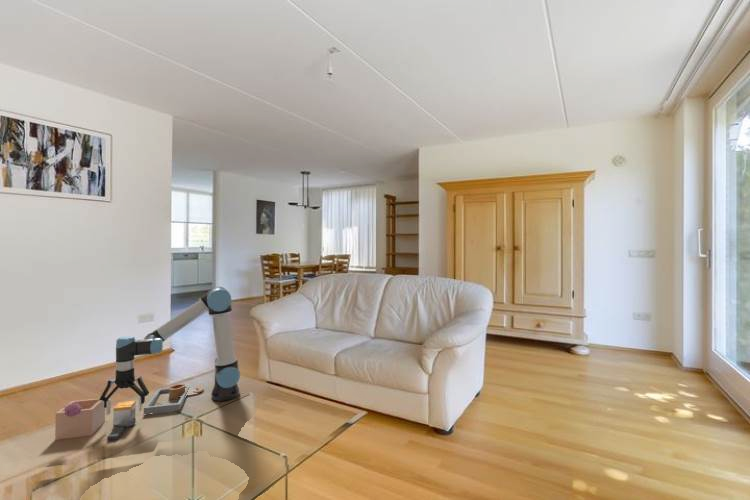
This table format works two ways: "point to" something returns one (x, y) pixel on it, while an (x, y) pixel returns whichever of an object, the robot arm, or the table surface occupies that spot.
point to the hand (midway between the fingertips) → (124, 412)
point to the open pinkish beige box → (80, 420)
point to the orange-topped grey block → (124, 412)
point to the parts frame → (164, 408)
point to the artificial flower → (72, 409)
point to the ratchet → (119, 430)
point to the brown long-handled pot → (181, 390)
